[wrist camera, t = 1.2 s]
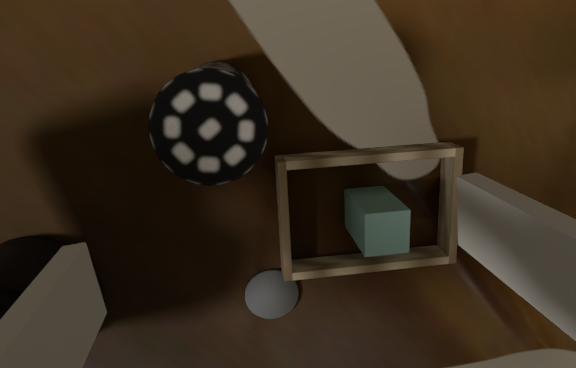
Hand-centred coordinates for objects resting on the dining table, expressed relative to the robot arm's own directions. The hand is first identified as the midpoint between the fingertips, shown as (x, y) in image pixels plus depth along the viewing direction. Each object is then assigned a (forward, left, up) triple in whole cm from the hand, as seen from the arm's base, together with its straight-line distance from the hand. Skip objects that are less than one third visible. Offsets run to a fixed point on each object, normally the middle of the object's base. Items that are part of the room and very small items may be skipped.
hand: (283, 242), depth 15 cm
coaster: (+1, -24, -37) cm, 44 cm away
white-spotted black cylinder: (-3, +1, -37) cm, 37 cm away
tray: (+14, -13, -37) cm, 42 cm away
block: (+14, -13, -37) cm, 42 cm away
